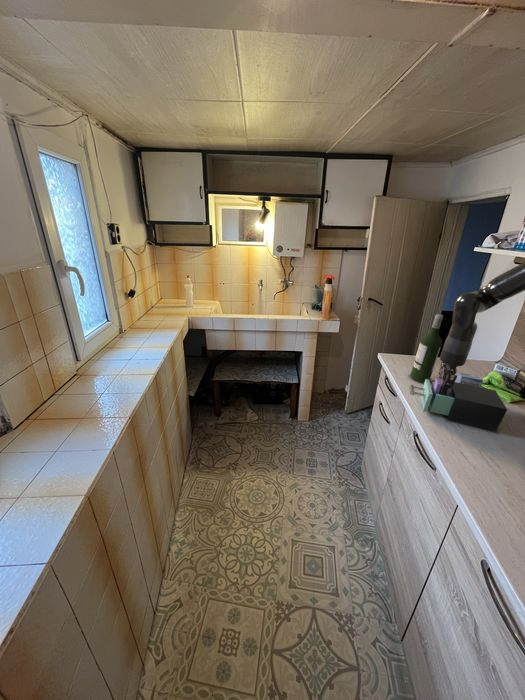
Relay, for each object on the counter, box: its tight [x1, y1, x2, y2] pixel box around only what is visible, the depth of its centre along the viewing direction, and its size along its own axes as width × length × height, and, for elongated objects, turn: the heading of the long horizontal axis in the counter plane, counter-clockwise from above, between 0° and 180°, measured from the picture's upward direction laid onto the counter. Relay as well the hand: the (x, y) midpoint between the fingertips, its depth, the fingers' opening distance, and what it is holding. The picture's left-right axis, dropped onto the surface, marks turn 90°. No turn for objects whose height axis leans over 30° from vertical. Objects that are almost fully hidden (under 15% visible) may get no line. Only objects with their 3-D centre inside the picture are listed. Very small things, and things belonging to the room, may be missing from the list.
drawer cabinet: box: [445, 382, 508, 433], centre depth 101 cm, size 15×13×10 cm
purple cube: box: [433, 377, 451, 396], centre depth 103 cm, size 4×4×4 cm
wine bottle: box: [409, 313, 444, 384], centre depth 121 cm, size 8×8×30 cm
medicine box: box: [455, 371, 484, 388], centre depth 115 cm, size 8×4×9 cm, turn 72°
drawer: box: [408, 379, 455, 416], centre depth 105 cm, size 19×11×8 cm, turn 67°
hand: (440, 391), depth 103 cm, fingers closed on purple cube, 4 cm apart
